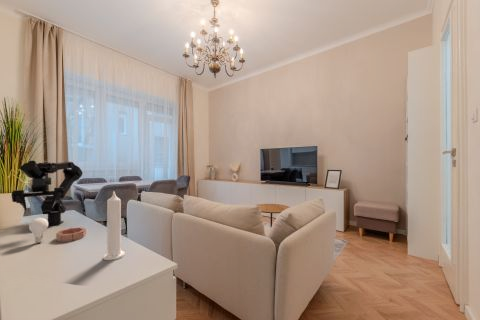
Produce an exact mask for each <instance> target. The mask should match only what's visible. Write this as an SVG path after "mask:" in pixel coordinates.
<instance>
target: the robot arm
mask: <svg viewBox="0 0 480 320" xmlns="http://www.w3.org/2000/svg"><path fill="white" fill-rule="evenodd" d="M20 170H21V172H22V173H23V174H24V175H25V176H27V177H28V178H29V179H32V181H31V190H30V191H28V192H25V190H24V189H19V190H17V189H16V190H12V191H11V201H12V202H13V203H16V204H20V205H21V206H22V208H23V210H24V211H25V212H26V211H27V203H26V198H28V197H29V198H31V197H34V198H35V197H37V198H39V197H45V198H44V200H43V201H42V203H41V205H40V208H41V212H42V215H47V221H48V227H52V226H60V225H61V224H63V223H64V222H65V221H64V220H63V221H62V214H64V213H65V212H66V210H67V208H66V207H65V205H64V201H63V199H64V198H65V196H66V195H67V193H68V192H69V190H70V188H71V187H72V186H73V184H74V183H75V182H77V181H78V180H80V179H81V177H82V176H83V170H82V169H81V167H79V166H78V165H76V164H75V163H74V162H73V161H63V162H36V161H35V160H29V161H28V162H25V163H23V164H22V165H21V166H20ZM61 170H62V173H63V175H64V179H63V181H62V182H61V184H60V185H59V186H58V187H54V188H53V189H54V190H49V191H48V185H52V177H48V174H54V173H56V172H58V171H61Z"/></svg>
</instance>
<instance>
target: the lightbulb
mask: <svg viewBox="0 0 480 320" xmlns="http://www.w3.org/2000/svg"><path fill="white" fill-rule="evenodd" d="M48 227H49V226H48V219H46V218H44V217H37V218H34V219H32V220H31V222H30V223H29V225H28V229H29V231H30V232H31V233H32V234H33V236H34V243H37V244H40V243H42V242H44V235H45V232H46V230H47V229H48Z"/></svg>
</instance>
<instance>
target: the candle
mask: <svg viewBox="0 0 480 320" xmlns="http://www.w3.org/2000/svg"><path fill="white" fill-rule="evenodd" d="M106 201H107V202H106V204H107V205H106V207H107V209H106V210H107V211H106V212H107V215H106V217H107V219H106V220H107V221H106V222H107V223H106V224H107V226H106V227H107V228H106V232H107V233H106V234H107V239H106V240H107V241H106V243H107V253H105V254H103V259H104V261H115V260H119V259H121V258H123V257H124V256H125V251H124V250H122V206H121V205H122V200H121V198H120V197H118V196H117V195H116V191H114V190H113V191H112V196H111V197H110V198H108V199H107V200H106Z"/></svg>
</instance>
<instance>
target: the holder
mask: <svg viewBox="0 0 480 320" xmlns="http://www.w3.org/2000/svg"><path fill="white" fill-rule="evenodd" d="M86 234H87V228H86V227H82V226H81V227H78V226H77V227H70V228H65V229H62V230H59V231H58V232H56V233H55V240H56V241H57V242H60V243H68V242H74V241H77V240H80V239H83V238H84V237H85V236H86Z"/></svg>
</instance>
